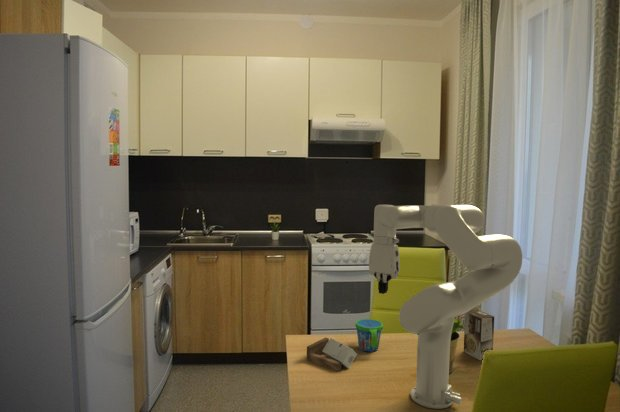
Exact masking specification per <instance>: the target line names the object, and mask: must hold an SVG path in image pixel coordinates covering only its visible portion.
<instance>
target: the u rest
mask: <svg viewBox="0 0 620 412" xmlns="http://www.w3.org/2000/svg"><path fill="white" fill-rule="evenodd" d="M329 340H330V338H329V337H324V338H322V339H319V340H318V341H316V342H313V343H311V344H310V345H307V346H306V361H308V362H311V363H314V364H317V365H320V366H322V367H325V368H328V369H331V370H333V371H335V372H336V371H337V372H340V371H341V370H342V365H341V362H338V361H335V360H332V359H331V358H329V357H327V356H323V355H324V353H323V352H322V350H323V349H324V347H325V346H326V344H327V343H328V341H329ZM355 361H357V356H356V357H355V359H354V361H353V362H352V363H354V362H355Z"/></svg>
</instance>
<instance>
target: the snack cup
mask: <svg viewBox="0 0 620 412" xmlns="http://www.w3.org/2000/svg"><path fill="white" fill-rule="evenodd" d="M383 325H384V324H383V322H382V321H380V320H377V319H372V318H365V319H359V320H356V321H355V329H356V334H357V343H358V348H359V349H360V350H361V351H365V352H370V353H373V352H376V351H377V350H379V347H380V339H381V336H382V330H383V328H384V326H383Z"/></svg>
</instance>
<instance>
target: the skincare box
mask: <svg viewBox="0 0 620 412" xmlns="http://www.w3.org/2000/svg"><path fill="white" fill-rule="evenodd" d="M322 352H323V353H324V354H325V357H326V358H329V359H332V360H335V361H338V362H341V366H343V367H345V368H347V369H349V368H350V367H351V366H352V364H353V363H354V362H355V361H354V359H355V357H356V358H357V356H358V353H356V352H355V350H354V349H353V348H351V347H350V346H347V345H346V344H344V343H341V342H339V341H337V340H336V339H333V338H331V337H330V338H329V341H328V343H327V344H326V346H325V347H324V349H323V350H322ZM324 354H323V355H324ZM353 361H354V362H353Z"/></svg>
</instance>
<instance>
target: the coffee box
mask: <svg viewBox="0 0 620 412" xmlns="http://www.w3.org/2000/svg"><path fill="white" fill-rule="evenodd" d="M494 333H495V315H492V314H489V313H487V312H484V311H482V310H479V309H472V310H470V311H469V312H467V313H465V314H464V330H463V353H465V354H467V355H469V356H471V357H473V358H475V359H476V360H479V361H483V360H482V359H483V355H484V352H485V351H486V350H494V335H495V334H494Z"/></svg>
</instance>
